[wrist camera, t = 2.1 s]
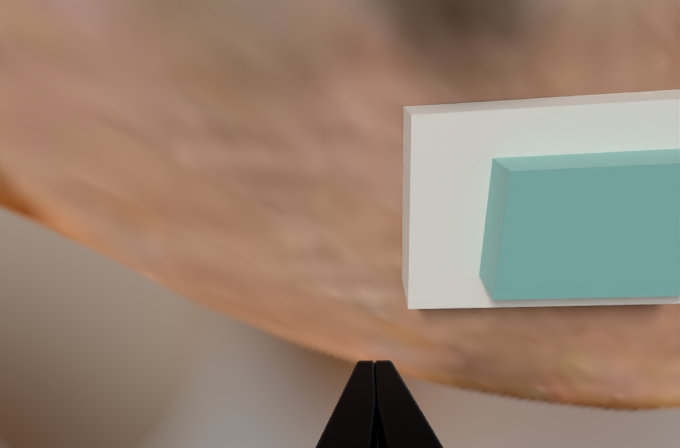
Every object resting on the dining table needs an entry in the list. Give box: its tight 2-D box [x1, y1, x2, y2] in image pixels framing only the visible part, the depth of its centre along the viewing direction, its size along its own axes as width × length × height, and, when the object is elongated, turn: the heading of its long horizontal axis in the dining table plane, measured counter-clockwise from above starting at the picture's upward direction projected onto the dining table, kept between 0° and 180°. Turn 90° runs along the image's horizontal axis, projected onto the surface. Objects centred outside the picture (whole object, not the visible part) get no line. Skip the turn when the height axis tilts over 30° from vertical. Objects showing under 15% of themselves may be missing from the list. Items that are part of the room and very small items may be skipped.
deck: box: [402, 89, 680, 309], centre depth 18 cm, size 14×10×3 cm
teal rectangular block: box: [479, 149, 680, 300], centre depth 15 cm, size 9×6×2 cm, turn 94°
